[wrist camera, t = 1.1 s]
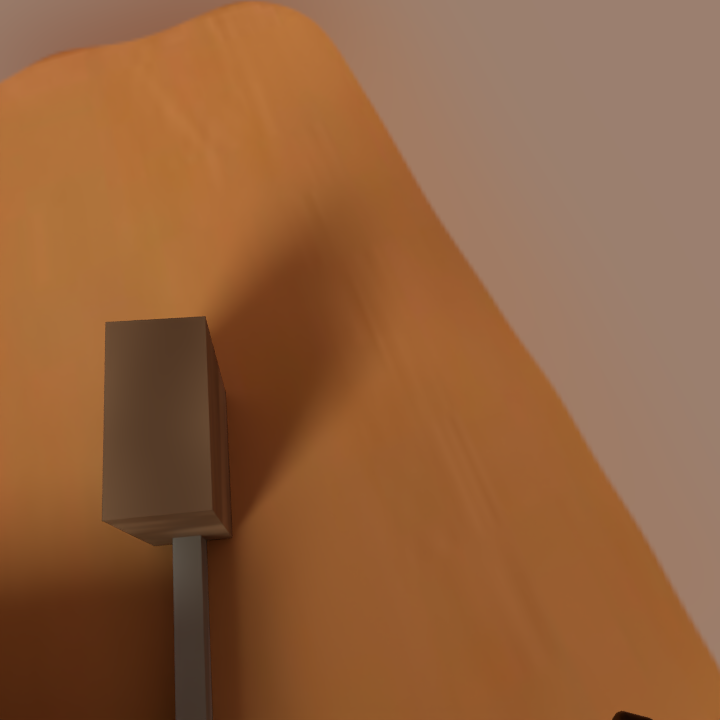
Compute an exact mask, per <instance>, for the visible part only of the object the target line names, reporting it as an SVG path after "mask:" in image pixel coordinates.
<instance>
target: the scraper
mask: <svg viewBox="0 0 720 720" xmlns="http://www.w3.org/2000/svg"><path fill="white" fill-rule="evenodd" d="M102 521H104V522H106V523H108V524H110V525H112V526H114V527H116V528H118V529H120V530H122V531H124V532H126V533H128V534H130V535H133V536H135V537H137V538H139V539H141V540H143V541H145V542H147V543H149V544H151V545H153V546H159V545H168V544H173V592H174V651H175V710H176V720H213V716H212V686H211V657H210V627H209V597H208V567H207V540H217V539H226V538H232V518H231V496H230V475H229V453H228V432H227V410H226V392H225V389H224V385H223V381H222V377H221V374H220V370H219V366H218V362H217V359H216V355H215V351H214V347H213V344H212V340H211V336H210V332H209V329H208V325H207V321H206V317H205V316H203V317H186V318H168V319H151V320H134V321H117V322H106V327H105V383H104V439H103V494H102Z"/></svg>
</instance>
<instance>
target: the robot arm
mask: <svg viewBox="0 0 720 720" xmlns="http://www.w3.org/2000/svg"><path fill="white" fill-rule="evenodd" d="M612 720H652V719H650V718H648V717H644V716H640V715H636V714H632V713H629V712H625V711H620V712H618V713H616V714H615V716H614V717H613V719H612Z"/></svg>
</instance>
